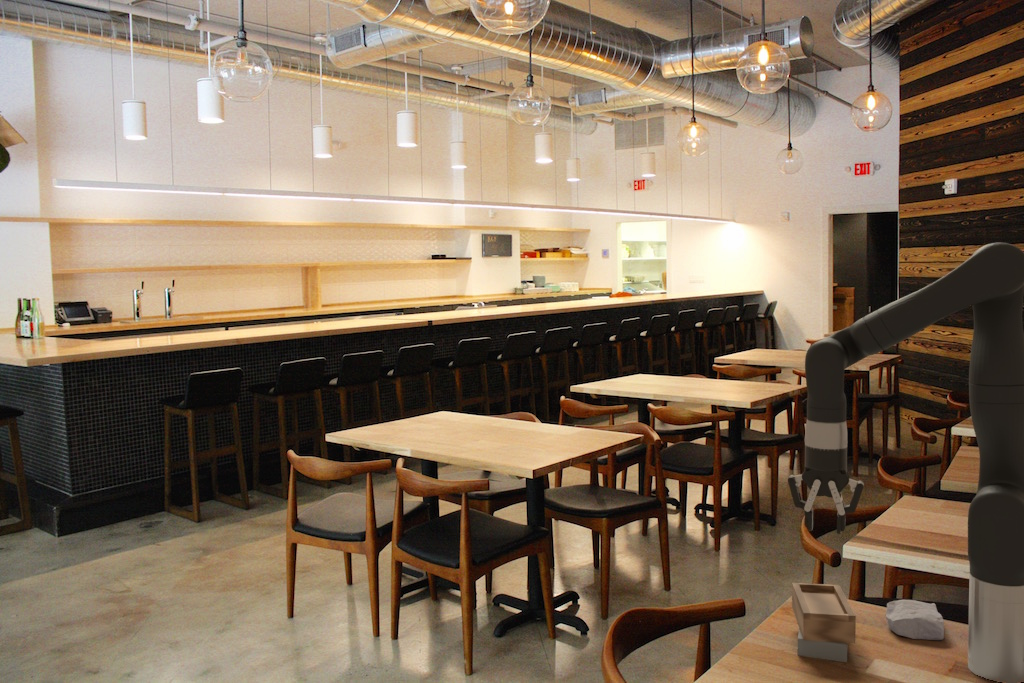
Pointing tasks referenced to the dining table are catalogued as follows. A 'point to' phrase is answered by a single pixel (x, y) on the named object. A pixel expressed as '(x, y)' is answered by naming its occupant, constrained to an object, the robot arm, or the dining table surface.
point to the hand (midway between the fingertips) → (824, 530)
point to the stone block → (915, 619)
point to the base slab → (822, 649)
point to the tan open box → (823, 613)
